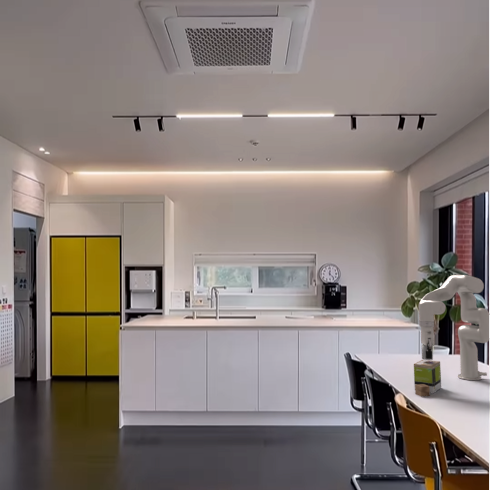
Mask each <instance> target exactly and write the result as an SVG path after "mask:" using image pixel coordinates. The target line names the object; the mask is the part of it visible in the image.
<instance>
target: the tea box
mask: <svg viewBox="0 0 490 490" xmlns="http://www.w3.org/2000/svg"><path fill="white" fill-rule="evenodd" d="M441 373H442V372H441V361H439V360H424V359H421V360H419V361H417V362H416V363H413V378H414V386H415V385H416V384H425V385H427V386H429V388H430V394H434V393H436V392H437V391H439V390H440V389H442V374H441Z"/></svg>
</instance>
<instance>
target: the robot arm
mask: <svg viewBox="0 0 490 490" xmlns="http://www.w3.org/2000/svg"><path fill="white" fill-rule="evenodd" d="M484 286H485V285H484V282H483V281H482V280H481V279H480V278H478V277H475V276H473V275H468V274H452V275H450V276H448V277H447V279H446V280H445V281H444V282H443V283H442V285H440V287H438V288H437V289H434V290H433V291H430V292H428V293H426V294H425V295H424V296H423V297H422V298H421V300H420V301H419V303H418V317H419V319H418V320H419V321H418V322H419V325H418V326H419V328H420V342H421V344H422V345H426V359H432V346H433V347H434V346H435V334H434V333H435V332H434V327H435V324H434V323H435V316H434V315H443V314H444V313H445V312H446V309H447V307H446V304H445V303H444V302H445V301H449V300H452V298H453V297H454V296H455V294H456V293H457V294H458V296H459V299H460V319H461V321H462V322H464V323H468V324H462V325H460V326H459V327H458V329H457V335H458V341H459V357H460V358H459V361H460V374H459V373H458V375H457V377H458V378H459V379H461V380H467V381H481V380H482V376H483V377H488V373H487V372H482V371H479V361H478V359H479V358H478V357H479V356H478V354H479V353H478V346H477V345H476V343H481V344H485V343H488V342H489V340H490V338H489V315H490V313H489V311H488V309H487V308H484V307H477V299H476V296H475V295H474V294H480V293H482V292H483V290H484ZM470 324H477V325H470Z"/></svg>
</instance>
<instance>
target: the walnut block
mask: <svg viewBox="0 0 490 490" xmlns="http://www.w3.org/2000/svg"><path fill="white" fill-rule="evenodd" d="M414 391H415V392H414V393H415V395H416V396H419V397H422V398H423V397H430V396H431V393H430V388H429V386H427V385H425V384H416V385H415V384H414Z"/></svg>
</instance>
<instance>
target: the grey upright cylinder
mask: <svg viewBox="0 0 490 490" xmlns="http://www.w3.org/2000/svg"><path fill="white" fill-rule="evenodd" d="M433 347H434V346H432V359H426V345H423V344H422V345H421V360H431V361H434V353H433Z"/></svg>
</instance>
